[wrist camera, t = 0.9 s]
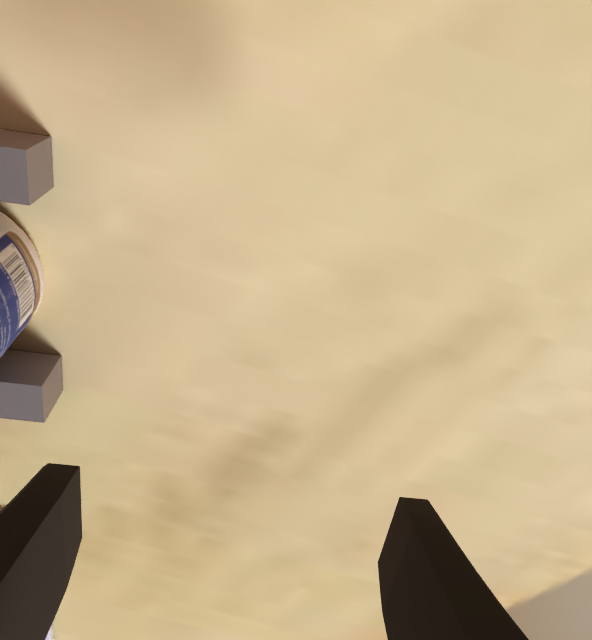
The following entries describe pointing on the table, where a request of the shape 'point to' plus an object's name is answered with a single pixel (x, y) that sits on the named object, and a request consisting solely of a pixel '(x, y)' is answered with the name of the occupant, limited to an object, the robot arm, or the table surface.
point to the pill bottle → (17, 281)
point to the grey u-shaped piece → (15, 366)
